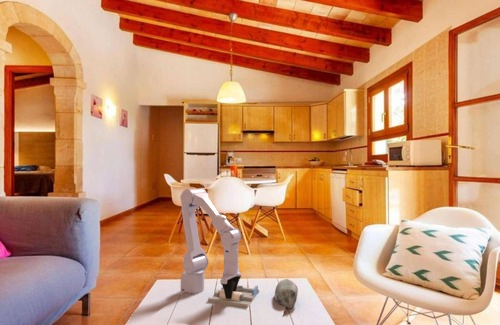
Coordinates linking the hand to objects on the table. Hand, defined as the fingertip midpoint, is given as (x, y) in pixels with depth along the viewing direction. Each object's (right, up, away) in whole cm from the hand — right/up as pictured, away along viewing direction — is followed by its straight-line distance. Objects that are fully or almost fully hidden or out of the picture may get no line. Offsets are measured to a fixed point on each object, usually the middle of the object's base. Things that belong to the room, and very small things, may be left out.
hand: (230, 296), depth 116 cm
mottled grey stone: (+22, -4, +2) cm, 22 cm away
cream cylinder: (0, -2, 0) cm, 2 cm away
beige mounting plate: (+1, -3, +4) cm, 5 cm away
